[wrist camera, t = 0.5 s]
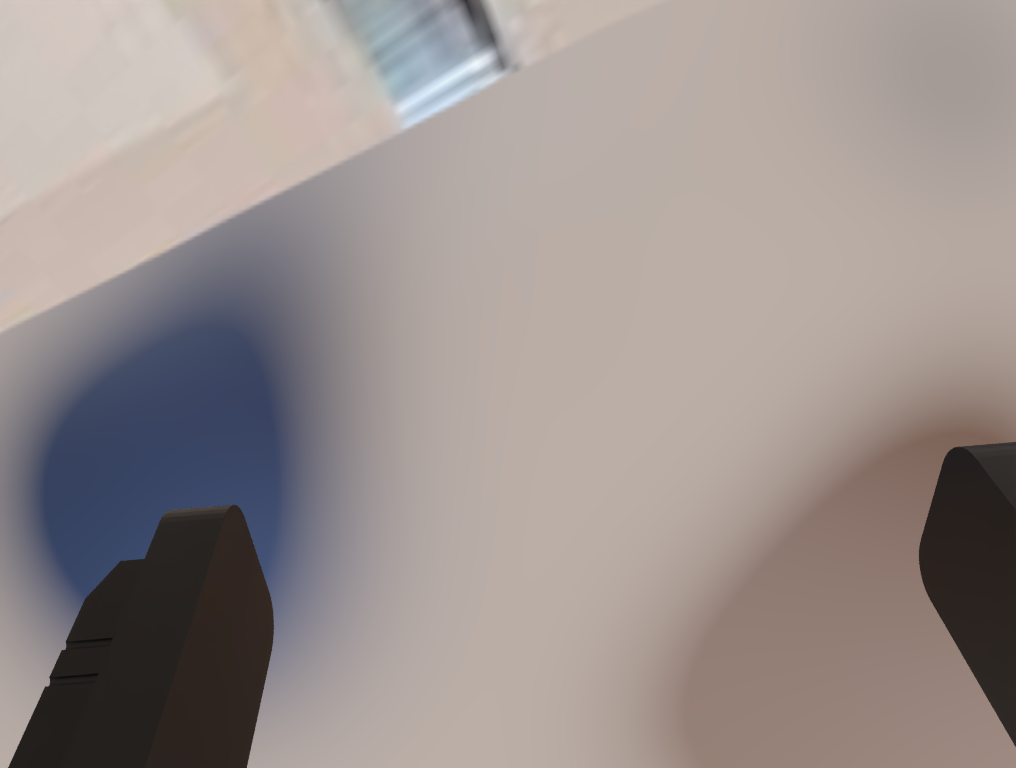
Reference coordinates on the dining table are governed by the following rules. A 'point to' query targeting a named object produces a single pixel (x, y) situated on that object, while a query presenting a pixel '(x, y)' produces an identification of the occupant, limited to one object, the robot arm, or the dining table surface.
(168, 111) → the dining table surface
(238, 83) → the dining table surface
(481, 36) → the dining table surface
